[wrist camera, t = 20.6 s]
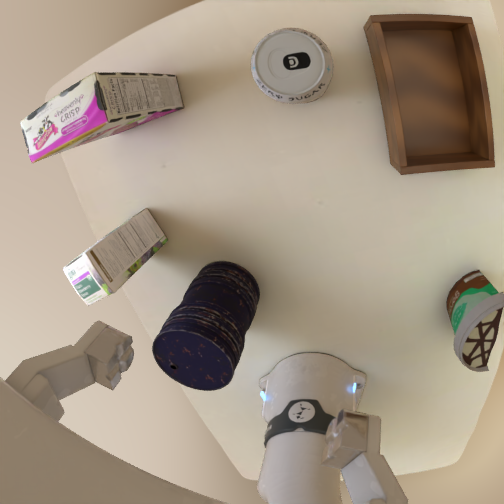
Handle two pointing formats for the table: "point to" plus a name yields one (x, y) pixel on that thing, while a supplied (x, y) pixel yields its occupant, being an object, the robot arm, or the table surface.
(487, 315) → the food container
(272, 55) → the energy drink can
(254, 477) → the table surface
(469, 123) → the wooden tray
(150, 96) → the candy bar box
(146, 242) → the syrup box
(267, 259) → the table surface
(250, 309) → the blue barrel
